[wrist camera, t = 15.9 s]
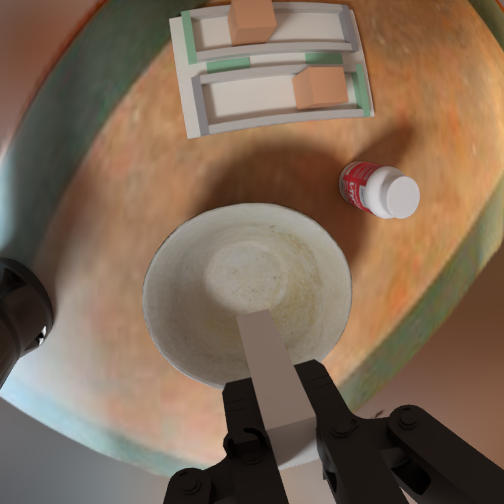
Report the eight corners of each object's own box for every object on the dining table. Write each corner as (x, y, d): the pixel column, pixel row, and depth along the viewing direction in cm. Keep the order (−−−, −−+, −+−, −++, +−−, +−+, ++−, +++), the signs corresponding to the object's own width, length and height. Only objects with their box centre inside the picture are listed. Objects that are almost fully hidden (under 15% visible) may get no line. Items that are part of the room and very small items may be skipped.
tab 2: (297, 109, 34) (314, 103, 28) (291, 78, 33) (307, 67, 27) (327, 107, 34) (349, 101, 29) (322, 77, 33) (342, 67, 27)
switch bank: (188, 139, 35) (187, 138, 32) (170, 23, 29) (168, 14, 26) (368, 117, 37) (380, 116, 34) (348, 13, 32) (357, 6, 29)
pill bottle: (329, 178, 39) (371, 190, 29) (361, 152, 39) (410, 157, 28) (352, 214, 41) (396, 237, 31) (382, 188, 41) (432, 203, 30)
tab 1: (232, 46, 30) (238, 29, 25) (227, 19, 29) (232, -2, 23) (265, 43, 31) (277, 26, 25) (259, 16, 29) (270, -4, 24)
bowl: (122, 302, 40) (105, 343, 31) (217, 152, 36) (222, 153, 27) (257, 370, 48) (270, 415, 38) (353, 252, 43) (389, 280, 34)
